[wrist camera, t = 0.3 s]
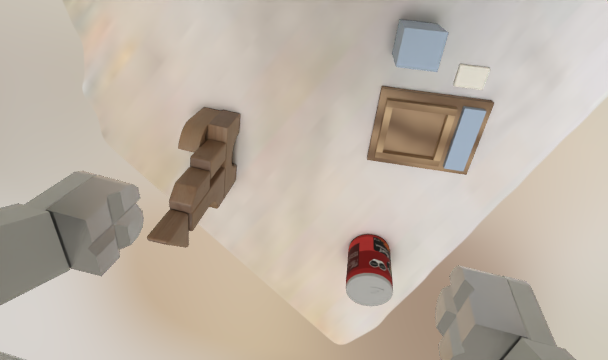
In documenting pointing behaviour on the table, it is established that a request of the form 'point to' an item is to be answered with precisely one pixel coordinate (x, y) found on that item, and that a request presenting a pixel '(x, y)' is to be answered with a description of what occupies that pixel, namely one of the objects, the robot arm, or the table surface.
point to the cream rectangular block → (471, 76)
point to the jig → (419, 127)
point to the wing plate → (464, 138)
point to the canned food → (369, 271)
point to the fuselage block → (419, 45)
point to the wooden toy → (200, 174)
